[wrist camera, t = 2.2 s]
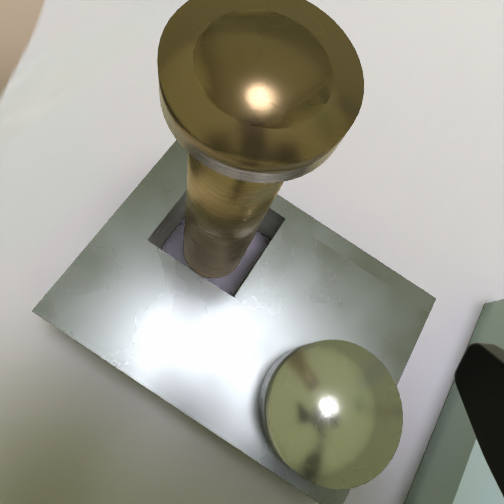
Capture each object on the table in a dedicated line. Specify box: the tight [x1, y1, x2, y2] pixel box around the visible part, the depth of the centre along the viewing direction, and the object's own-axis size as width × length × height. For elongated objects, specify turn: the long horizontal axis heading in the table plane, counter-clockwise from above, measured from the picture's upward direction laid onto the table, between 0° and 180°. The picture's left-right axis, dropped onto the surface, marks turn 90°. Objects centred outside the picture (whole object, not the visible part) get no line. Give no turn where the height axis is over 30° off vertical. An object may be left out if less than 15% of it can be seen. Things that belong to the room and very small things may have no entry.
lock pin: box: [158, 0, 364, 278], centre depth 15 cm, size 4×4×13 cm
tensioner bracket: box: [32, 140, 436, 504], centre depth 18 cm, size 10×14×5 cm
